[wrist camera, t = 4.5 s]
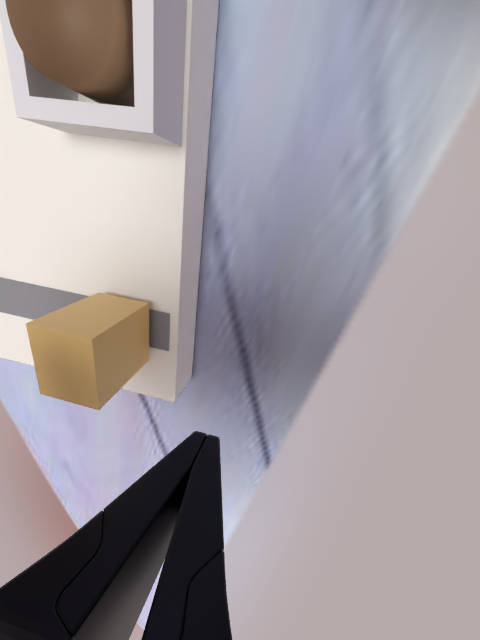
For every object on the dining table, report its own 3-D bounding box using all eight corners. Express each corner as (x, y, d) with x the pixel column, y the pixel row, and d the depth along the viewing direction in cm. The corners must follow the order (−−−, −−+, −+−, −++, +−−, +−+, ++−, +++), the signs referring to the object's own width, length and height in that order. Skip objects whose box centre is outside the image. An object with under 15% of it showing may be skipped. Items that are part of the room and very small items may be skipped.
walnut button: (159, -4, 10) (106, -81, 7) (158, 115, 11) (114, 87, 9) (72, -8, 10) (-9, -82, 8) (82, 107, 12) (17, 78, 9)
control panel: (223, -57, 11) (161, -260, 6) (191, 376, 20) (156, 431, 15) (-87, -61, 14) (-312, -216, 9) (8, 331, 23) (-75, 367, 18)
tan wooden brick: (149, 302, 15) (91, 339, 11) (149, 359, 16) (99, 410, 12) (98, 292, 15) (25, 323, 11) (103, 348, 17) (40, 393, 13)
